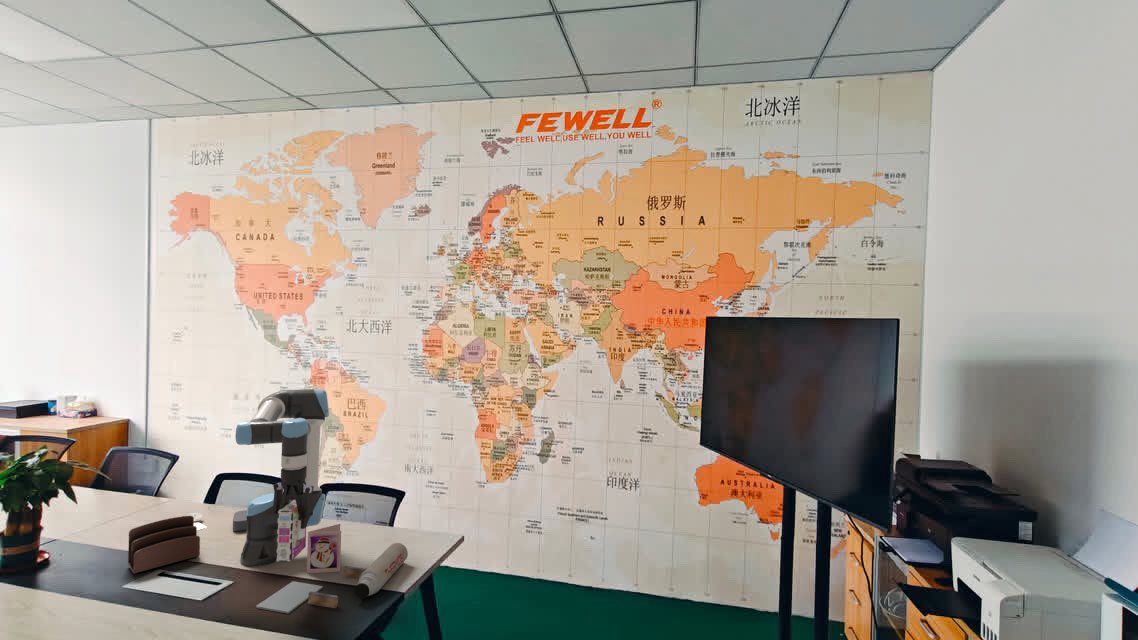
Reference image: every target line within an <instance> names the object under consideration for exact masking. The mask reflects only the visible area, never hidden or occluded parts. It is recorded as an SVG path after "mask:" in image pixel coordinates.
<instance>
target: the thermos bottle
mask: <svg viewBox="0 0 1138 640" xmlns="http://www.w3.org/2000/svg"><path fill="white" fill-rule="evenodd" d="M408 552H409V551H408V548H407V547H406V546H405V545H404V544H403V543H401V542H393V543H391V544H390V545H389V546H388V547H387V548H386V549H385V550H384V551H383V552H382V553H381V555H379V556H378V557H377V558H376V559H375V560H374V562H372V563H371V564H369V565H370V566H368V567H367V568H365V569H366V570H365V571H364V572H363V573H362V574H361V576H360V578H359V579H358V581H357V584H356V585H355V587H354V595H355V597H356V598H357V599H360V600H365V599H366V598H367V597H369V596H372V595H375V594H376V593H378V592H380V590H381V589H382V587H383V586H384V585H385V584H386V583H387V581H388V580H389V579H390V578H391V577H392V576H393V574H394V573H396V571H398V569H399V568H400V567H401V566H402V565H403V564H404V562H405V561H406V560H407V558H408V556H409V553H408Z"/></svg>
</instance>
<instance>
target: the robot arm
mask: <svg viewBox="0 0 1138 640" xmlns="http://www.w3.org/2000/svg"><path fill="white" fill-rule="evenodd" d="M329 415H330V412H329V401H328V393H327V390H325V389H321V388H320V389H319V388H318V389H317V388H316V389H315V388H312V389H309V388H308V389H305V388H304V389H284V390H278V391H276V392H273V393H271V394H269V395H267V396H265V398H263V399H262V400H261V401H260V402H259V404H258V406H257V411H256V412H255V414H254V415H253V416H252V418H251V420H250V421H243V422H239V423H238V424H237V425H236V428H235V443H236V444H238V445H240V446H244V445H245V446H246V445H247V446H250V445H266V444H281V458H280V459H281V461H280V462H281V463H280V467H281V469H280V480H281V481H280V482H277V483H275V484H273V485H272V486H273V490H274V491H273V493H266V494H263V495H260V496H257V497H256V498H253V499H252V500H250V501H249V503H248V504H247V506H246V507H247V509H246V510H247V514H246V516H247V530H246V533H245V534H246V538H245V543H244V545H243V547H242V552H241V553H240V556H239V557H240V561H239V562H240V564H241V565H243V566H245V567H262V566H267V565H270V564H273V563H277V562H276V558H277V526H278V511H279V510H280V509H282V508H283V507H284V506H286V505H287V504H289V503H290V502H291V501H293V500H296V504H297V508H298V513H299V517H300V518H299V519H298V521H297V539H298V540H299V539H301V538H303V537H305V528H306V529H307V528H308V527H313V526H317V525H319V524H320V523H321V521H322V518H323V513H324V508H325V502H326V494H325V493H322V492H323V491H322V488H320V486H319V485H318V484H319V466H320V465H319V464H320V448H321V447H320V446H321V445H320V444H321V426H322V425H323V424H324V423H326V418H329ZM280 419H286V420H280ZM303 514H304V515H303Z"/></svg>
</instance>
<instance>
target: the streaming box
mask: <svg viewBox="0 0 1138 640" xmlns="http://www.w3.org/2000/svg"><path fill="white" fill-rule="evenodd" d="M246 514H247V509H245V510H244V509H243V510H239V511H235V512H234V514H233V519H232V531H233V532H241V531H247V516H246Z"/></svg>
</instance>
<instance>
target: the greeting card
mask: <svg viewBox="0 0 1138 640" xmlns="http://www.w3.org/2000/svg"><path fill="white" fill-rule="evenodd" d="M341 549H342V530H341V523H338V524H333V525H330V526H326V527H321V528H317V529H314V530H309V531H307V554H306V555H307V557H306V574H310V573H311V574H314V573H317V574H319V573H335V572H341V553H342V552H341V551H342V550H341Z"/></svg>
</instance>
